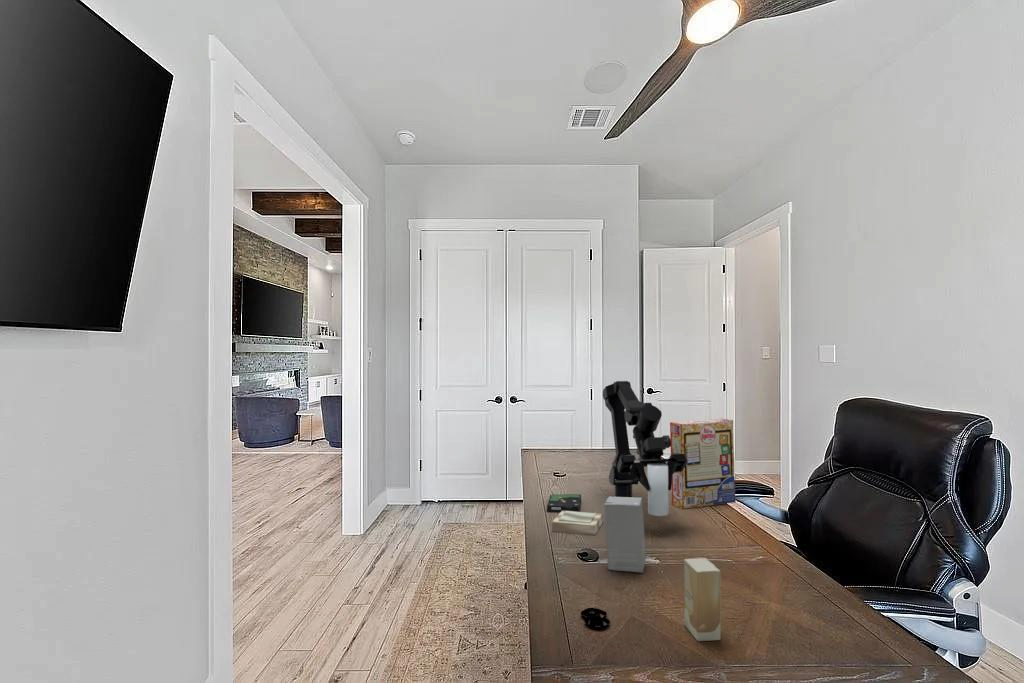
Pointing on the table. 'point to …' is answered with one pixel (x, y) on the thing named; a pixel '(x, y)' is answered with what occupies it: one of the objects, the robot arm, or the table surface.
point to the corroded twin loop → (595, 618)
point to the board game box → (703, 463)
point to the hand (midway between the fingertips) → (659, 490)
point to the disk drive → (564, 503)
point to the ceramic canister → (658, 489)
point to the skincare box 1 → (625, 534)
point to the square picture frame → (577, 522)
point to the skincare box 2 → (702, 599)
